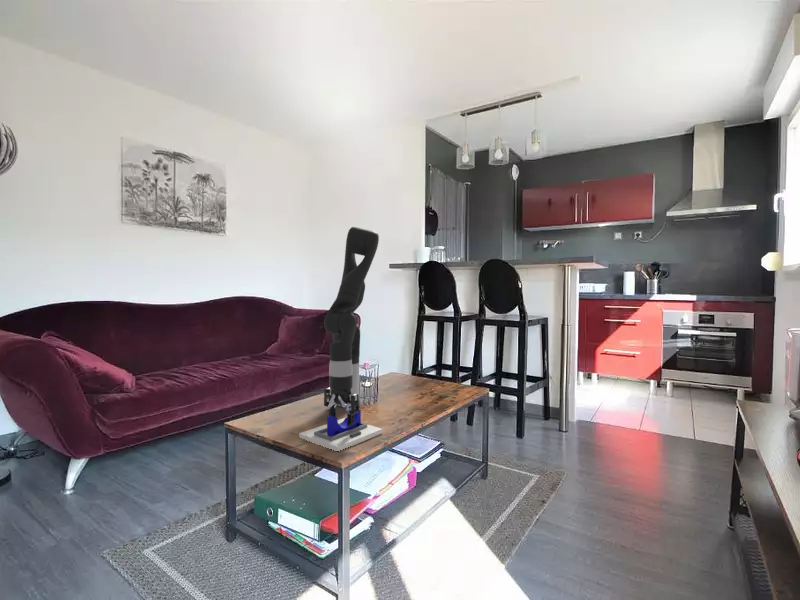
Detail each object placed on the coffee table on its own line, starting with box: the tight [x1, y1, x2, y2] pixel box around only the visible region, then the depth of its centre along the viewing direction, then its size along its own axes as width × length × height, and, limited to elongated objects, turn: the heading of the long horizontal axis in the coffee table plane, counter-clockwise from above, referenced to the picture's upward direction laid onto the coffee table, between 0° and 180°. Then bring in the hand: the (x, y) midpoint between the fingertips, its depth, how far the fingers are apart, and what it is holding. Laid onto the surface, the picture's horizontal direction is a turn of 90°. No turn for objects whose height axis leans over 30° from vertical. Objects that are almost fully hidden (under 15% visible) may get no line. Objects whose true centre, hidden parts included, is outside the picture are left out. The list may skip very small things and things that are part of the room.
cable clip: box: [326, 407, 362, 437], centre depth 138 cm, size 12×4×6 cm, turn 141°
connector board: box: [298, 417, 383, 452], centre depth 138 cm, size 18×20×2 cm
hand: (341, 422), depth 138 cm, fingers open, 8 cm apart
